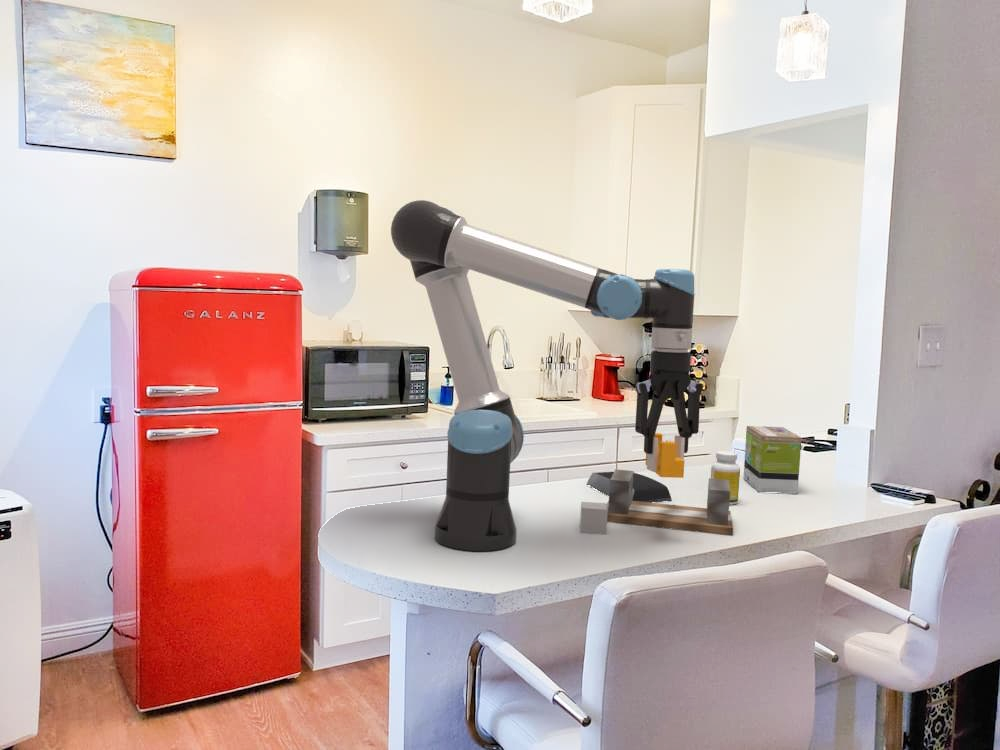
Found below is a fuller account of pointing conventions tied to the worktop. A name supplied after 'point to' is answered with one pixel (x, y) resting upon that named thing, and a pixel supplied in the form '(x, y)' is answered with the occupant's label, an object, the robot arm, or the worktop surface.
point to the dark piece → (642, 487)
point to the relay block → (593, 518)
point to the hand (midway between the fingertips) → (664, 469)
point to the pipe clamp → (668, 459)
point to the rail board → (670, 508)
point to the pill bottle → (727, 472)
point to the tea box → (772, 459)
